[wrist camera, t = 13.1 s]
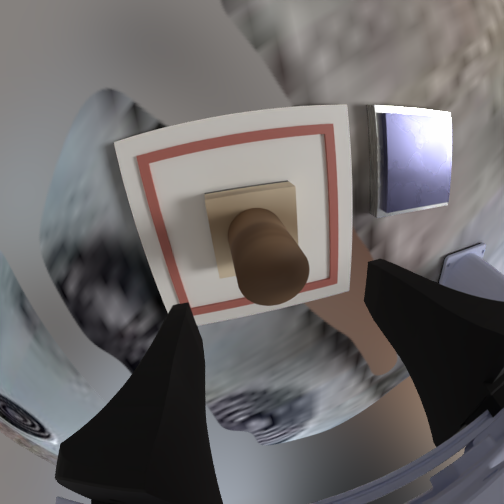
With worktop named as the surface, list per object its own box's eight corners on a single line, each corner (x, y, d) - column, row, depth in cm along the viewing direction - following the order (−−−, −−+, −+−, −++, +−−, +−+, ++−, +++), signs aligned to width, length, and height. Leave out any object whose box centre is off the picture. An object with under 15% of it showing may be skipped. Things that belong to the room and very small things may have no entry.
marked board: (344, 285, 22) (350, 292, 21) (175, 322, 21) (174, 331, 20) (341, 104, 15) (348, 104, 14) (117, 141, 14) (112, 142, 13)
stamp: (292, 253, 18) (325, 307, 13) (218, 266, 18) (226, 329, 13) (287, 180, 16) (328, 213, 11) (204, 193, 16) (205, 233, 10)
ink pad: (440, 201, 20) (451, 207, 18) (369, 213, 19) (380, 220, 18) (442, 111, 16) (454, 113, 15) (366, 105, 15) (378, 105, 14)
